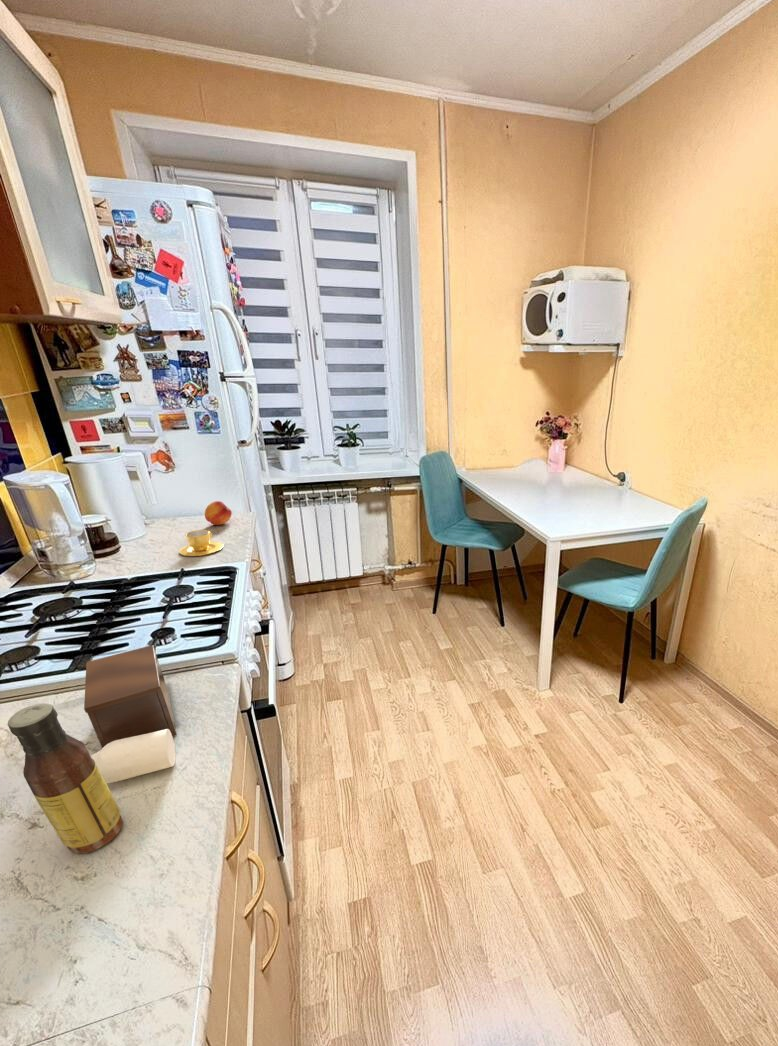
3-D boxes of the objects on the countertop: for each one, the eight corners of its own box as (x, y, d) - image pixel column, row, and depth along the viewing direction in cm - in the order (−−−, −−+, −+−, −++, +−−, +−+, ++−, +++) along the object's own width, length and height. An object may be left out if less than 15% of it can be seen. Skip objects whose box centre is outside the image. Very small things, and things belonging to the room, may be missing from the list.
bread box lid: (161, 690, 77) (160, 686, 77) (85, 713, 73) (83, 708, 72) (154, 648, 88) (153, 644, 88) (87, 666, 83) (86, 661, 83)
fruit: (229, 527, 176) (224, 504, 172) (204, 528, 175) (198, 505, 171) (235, 520, 183) (230, 498, 179) (211, 521, 182) (206, 499, 178)
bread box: (176, 735, 82) (161, 688, 78) (106, 759, 77) (85, 710, 73) (168, 692, 92) (154, 649, 88) (106, 711, 88) (88, 666, 84)
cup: (204, 559, 150) (199, 541, 147) (170, 555, 153) (165, 538, 150) (232, 545, 160) (228, 528, 158) (199, 541, 163) (195, 525, 161)
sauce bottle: (109, 807, 69) (55, 687, 61) (135, 827, 66) (82, 704, 58) (53, 844, 64) (-14, 718, 56) (78, 868, 61) (11, 738, 53)
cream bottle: (84, 772, 75) (70, 742, 73) (177, 748, 79) (167, 719, 77) (74, 802, 70) (59, 771, 68) (174, 774, 75) (163, 745, 72)
